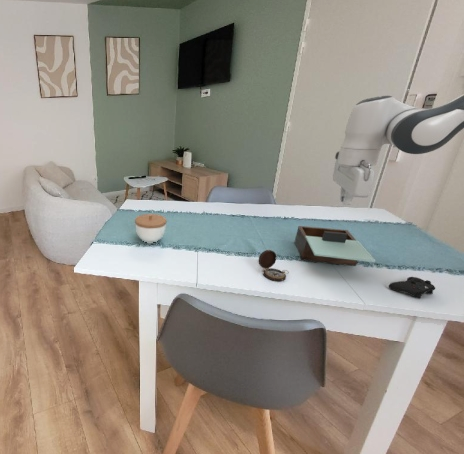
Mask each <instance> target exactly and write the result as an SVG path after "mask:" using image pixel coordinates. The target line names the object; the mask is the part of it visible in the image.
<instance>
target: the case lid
mask: <svg viewBox="0 0 464 454" xmlns="http://www.w3.org/2000/svg"><path fill="white" fill-rule="evenodd" d="M347 235H348V234H347V233H340V232H329V231H324V233H323V237H314V236H305V238H306V240H307V242H308V244H309V246H310V248H311V249H312V251H313V253H314V255H316V256H324V257H333V258H341V259H349V260H358V261H359V262H368V263H376V259H375V258H374V257H373V256H372V255H371V253H369V251H368V250H367V249H366V248H365V246H364V245H363V244H362V243H361V242H360V241H359V240H356V241H354V240H346V238H347ZM358 261H357V262H358Z"/></svg>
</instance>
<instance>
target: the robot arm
mask: <svg viewBox="0 0 464 454" xmlns="http://www.w3.org/2000/svg"><path fill="white" fill-rule="evenodd" d="M348 117H349V118H348V120H347V123H346V127H345V130H344V134H345V137H344V140H343V142H342V144H341V146H340V149H339V151H336V152H335V155H334V159H335V163H334V168H333V174H332V179H333V182H335V183H336V184H337V185H338V186H339V187H340V197H339V202H340V203H342V205H345V206H350V205H351V204H352V200H353V199H354V198H369V196H370V195H371V193H372V189H373V185H374V181H375V174H376V173H375V170H374V169H373V168H372V167H374V166H376V165H377V163H378V159H379V156H380V153H381V151H382V148H383V146H384V145H392V146H393V147H396V148H397V149H398V150H399V151H401V152H403V153H405V154H409V155H410V154H411V155H422V154H428V153H431V152H434V151H436V150H439V149H440V148H442V147H443V146H445V145H446V144H447V143H448V142H450V141H451V140H452V139H453V138H454V137H455V136H456V135H457V134H458V133H459V132H461V131H463V130H464V93H462V94H461V95H459V96H457V97H456V98H454V99H453V100H451V101H449V102H447V103H445V104H442V105H439V106H436V107H433V108H428V109H427V108H426V109H424V108H419V107H416V106H412V105H410V104H406V103H404V102H402V101H399V100H398V99H397V98H395V97H394V96H393V95H381V96H375V97H370V98H365V99H362V100H360V101H358V102H357V103H356V104H354V106H353V108H352V110H351V112H350V114H349V116H348Z"/></svg>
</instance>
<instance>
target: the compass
mask: <svg viewBox="0 0 464 454" xmlns="http://www.w3.org/2000/svg"><path fill="white" fill-rule="evenodd" d="M257 262H258V265H259V267H261V268H262V269H265V270H263V276H264V277H265V278H266V279H269V280H271V281H275V282H282V281H285V280H286V279H287V275H286V272H287V274H289V273H290V271H288V270H287V269H282V270H281V269H278V268H274V267H273V266H274V265H275V263H276V262H277V254H276V252H275V251H273V250H272V249H266V250H264V251H262V252H261V254H260V255H259V256H258V260H257Z"/></svg>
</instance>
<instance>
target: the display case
mask: <svg viewBox="0 0 464 454" xmlns="http://www.w3.org/2000/svg"><path fill="white" fill-rule="evenodd" d="M324 231H329V232H340V233H347V234H348V235H347V238H346V240H354V241H357V239H356V238H355V237H354V236H353V235H352V233H351V232H350V231H349V230H348V229H338V228H327V227H317V226H316V227H315V226H306V225H305V226H304V225H298V227H297V231H296V235H295V240H294V244H295V247H296V249H297V252H298V254H299V255H300V259H301V260H302V261H303V260H304V261H310V262H319V263H325V264H334V265H343V266H351V267H357V264H358V260H349V259H341V258H333V257H324V256H316V255H314V253H313V251H312V249H311V248H310V246H309V244H308V242H307V240H306V238H305V236H314V237H323V233H324Z"/></svg>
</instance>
